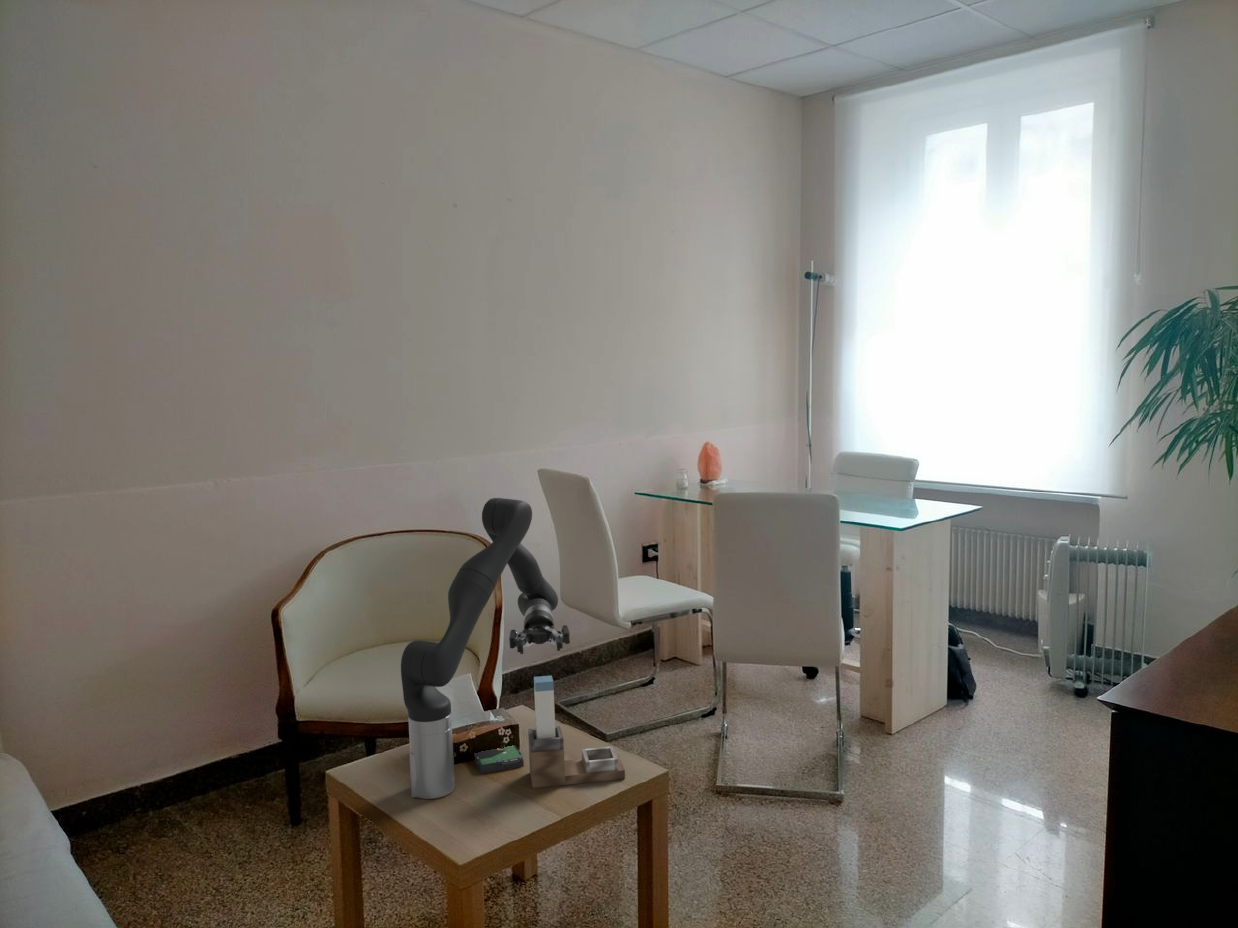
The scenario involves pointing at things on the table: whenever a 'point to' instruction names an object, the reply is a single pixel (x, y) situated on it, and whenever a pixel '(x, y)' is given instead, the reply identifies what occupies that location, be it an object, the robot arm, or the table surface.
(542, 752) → the square socket stand
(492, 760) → the disk drive
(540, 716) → the plug
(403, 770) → the table surface
